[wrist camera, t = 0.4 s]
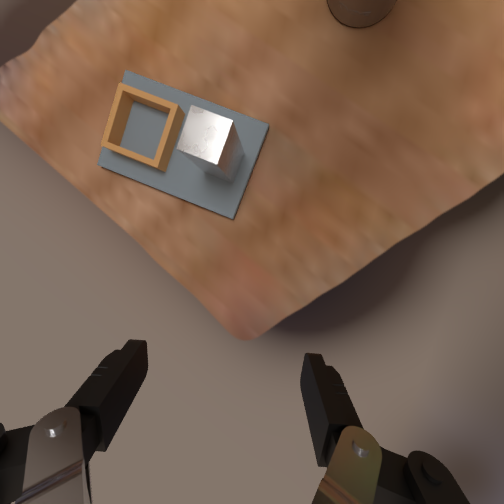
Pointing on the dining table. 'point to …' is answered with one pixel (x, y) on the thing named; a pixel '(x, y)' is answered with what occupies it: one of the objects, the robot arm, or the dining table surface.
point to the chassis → (172, 144)
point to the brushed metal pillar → (211, 143)
